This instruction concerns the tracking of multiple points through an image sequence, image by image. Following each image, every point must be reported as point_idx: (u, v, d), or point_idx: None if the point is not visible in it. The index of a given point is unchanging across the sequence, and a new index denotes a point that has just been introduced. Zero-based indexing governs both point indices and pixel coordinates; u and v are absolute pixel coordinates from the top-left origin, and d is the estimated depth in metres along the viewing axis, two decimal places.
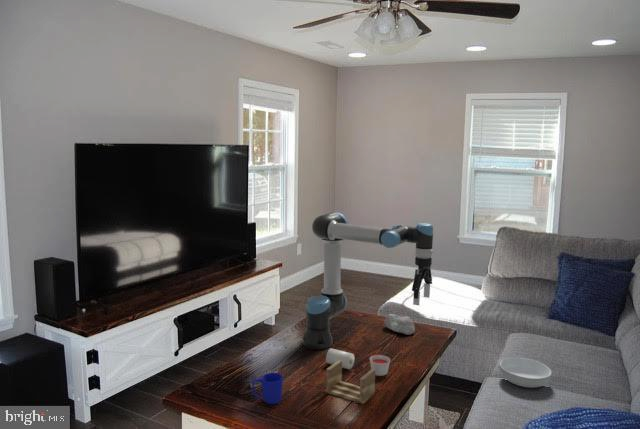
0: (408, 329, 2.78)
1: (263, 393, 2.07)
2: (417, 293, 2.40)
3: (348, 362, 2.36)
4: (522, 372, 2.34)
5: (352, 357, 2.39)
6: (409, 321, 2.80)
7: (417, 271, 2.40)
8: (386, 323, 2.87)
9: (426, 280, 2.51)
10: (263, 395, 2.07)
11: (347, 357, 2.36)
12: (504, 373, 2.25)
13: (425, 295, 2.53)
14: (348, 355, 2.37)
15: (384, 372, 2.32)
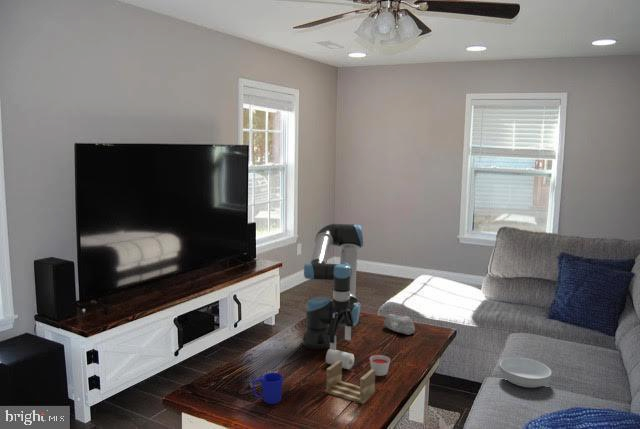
0: (408, 329, 2.78)
1: (263, 393, 2.07)
2: (333, 337, 2.32)
3: (348, 363, 2.36)
4: (522, 372, 2.34)
5: (352, 357, 2.39)
6: (409, 321, 2.80)
7: (333, 315, 2.31)
8: (386, 323, 2.86)
9: (346, 322, 2.43)
10: (263, 395, 2.07)
11: (347, 358, 2.36)
12: (504, 373, 2.25)
13: (346, 338, 2.45)
14: (348, 356, 2.36)
15: (384, 372, 2.32)
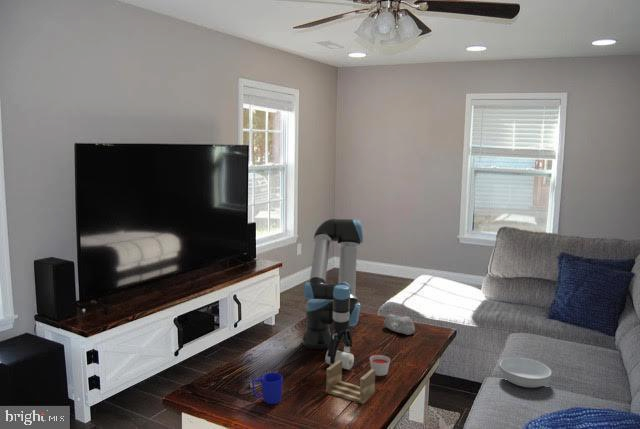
0: (408, 329, 2.78)
1: (263, 393, 2.07)
2: (333, 358, 2.34)
3: (347, 363, 2.36)
4: (522, 372, 2.34)
5: (351, 357, 2.38)
6: (409, 321, 2.80)
7: (333, 336, 2.33)
8: (386, 323, 2.86)
9: (346, 342, 2.45)
10: (263, 395, 2.07)
11: (346, 358, 2.35)
12: (504, 373, 2.25)
13: None
14: (347, 356, 2.36)
15: (384, 372, 2.32)
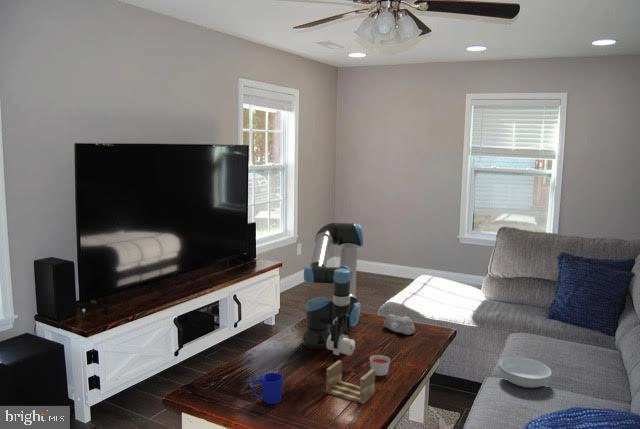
0: (408, 329, 2.78)
1: (263, 393, 2.07)
2: (336, 343, 2.36)
3: (348, 349, 2.36)
4: (522, 372, 2.34)
5: (352, 343, 2.38)
6: (409, 321, 2.80)
7: (333, 322, 2.33)
8: (386, 323, 2.86)
9: (344, 330, 2.42)
10: (263, 395, 2.07)
11: (347, 344, 2.35)
12: (504, 373, 2.25)
13: None
14: (348, 342, 2.36)
15: (384, 372, 2.32)
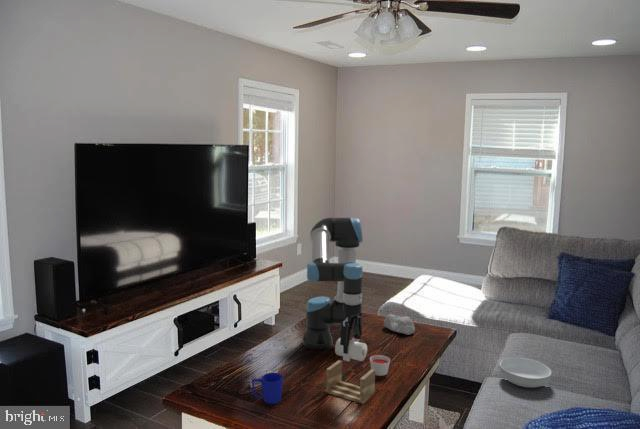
0: (408, 329, 2.78)
1: (263, 393, 2.07)
2: (347, 347, 2.09)
3: (360, 354, 2.09)
4: (522, 372, 2.34)
5: (364, 347, 2.12)
6: (409, 321, 2.80)
7: (343, 323, 2.06)
8: (386, 323, 2.86)
9: (355, 333, 2.16)
10: (263, 395, 2.07)
11: (358, 348, 2.09)
12: (504, 373, 2.25)
13: None
14: (359, 346, 2.09)
15: (384, 372, 2.32)
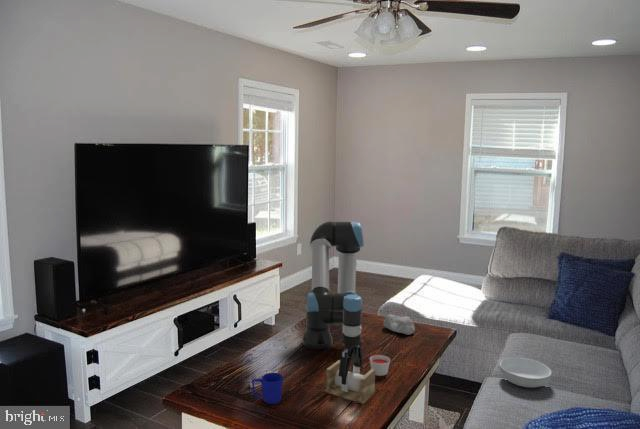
0: (408, 329, 2.78)
1: (263, 393, 2.07)
2: (345, 378, 2.10)
3: None
4: (522, 372, 2.34)
5: None
6: (409, 321, 2.80)
7: (343, 354, 2.08)
8: (386, 323, 2.86)
9: (355, 361, 2.18)
10: (263, 395, 2.07)
11: (358, 381, 2.10)
12: (504, 373, 2.25)
13: None
14: (359, 378, 2.11)
15: (384, 372, 2.32)
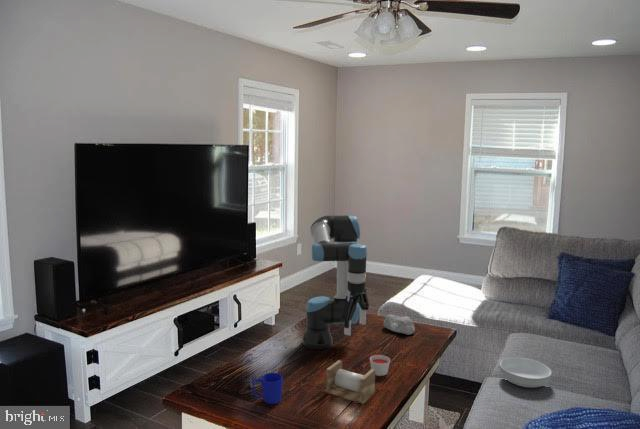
0: (409, 329, 2.78)
1: (263, 393, 2.07)
2: (348, 322, 2.16)
3: None
4: (522, 372, 2.34)
5: None
6: (409, 321, 2.80)
7: (348, 298, 2.16)
8: (386, 324, 2.86)
9: (361, 306, 2.27)
10: (263, 395, 2.07)
11: (358, 381, 2.10)
12: (504, 373, 2.25)
13: (361, 322, 2.30)
14: (359, 378, 2.11)
15: (384, 372, 2.32)
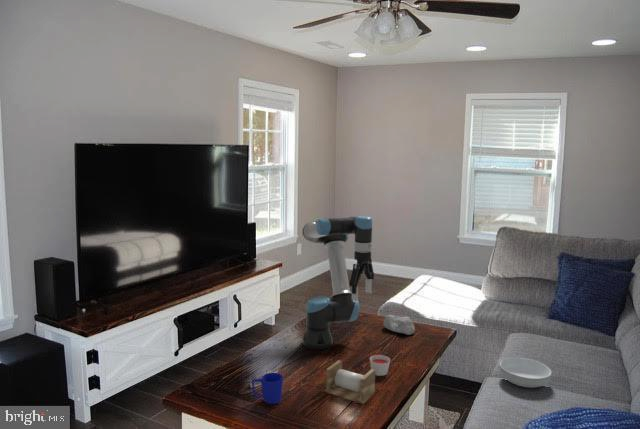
0: (409, 329, 2.78)
1: (263, 393, 2.07)
2: (355, 288, 2.32)
3: None
4: (522, 372, 2.34)
5: None
6: (409, 321, 2.80)
7: (355, 265, 2.32)
8: (386, 324, 2.85)
9: (367, 275, 2.44)
10: (263, 395, 2.07)
11: (358, 381, 2.10)
12: (504, 373, 2.25)
13: (367, 291, 2.46)
14: (359, 378, 2.11)
15: (384, 372, 2.32)
